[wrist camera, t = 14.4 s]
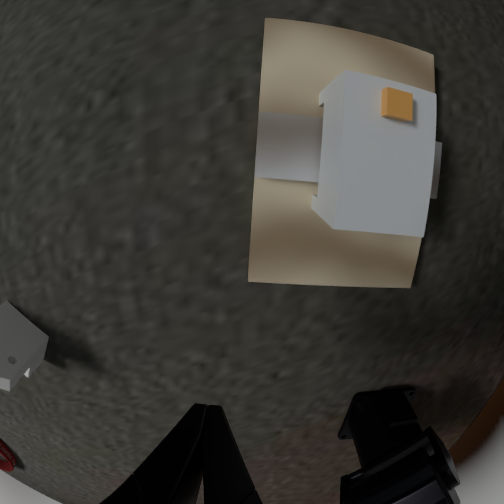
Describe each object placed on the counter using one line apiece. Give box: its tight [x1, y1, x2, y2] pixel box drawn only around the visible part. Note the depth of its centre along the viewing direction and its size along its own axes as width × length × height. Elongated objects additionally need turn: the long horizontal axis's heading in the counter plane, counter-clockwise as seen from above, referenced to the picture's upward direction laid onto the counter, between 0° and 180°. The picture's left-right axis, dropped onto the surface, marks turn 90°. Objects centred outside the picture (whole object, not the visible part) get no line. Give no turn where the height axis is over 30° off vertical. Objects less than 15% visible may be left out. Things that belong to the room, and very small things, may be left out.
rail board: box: [248, 18, 442, 288], centre depth 16 cm, size 16×11×2 cm
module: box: [311, 70, 436, 237], centre depth 13 cm, size 7×4×6 cm
